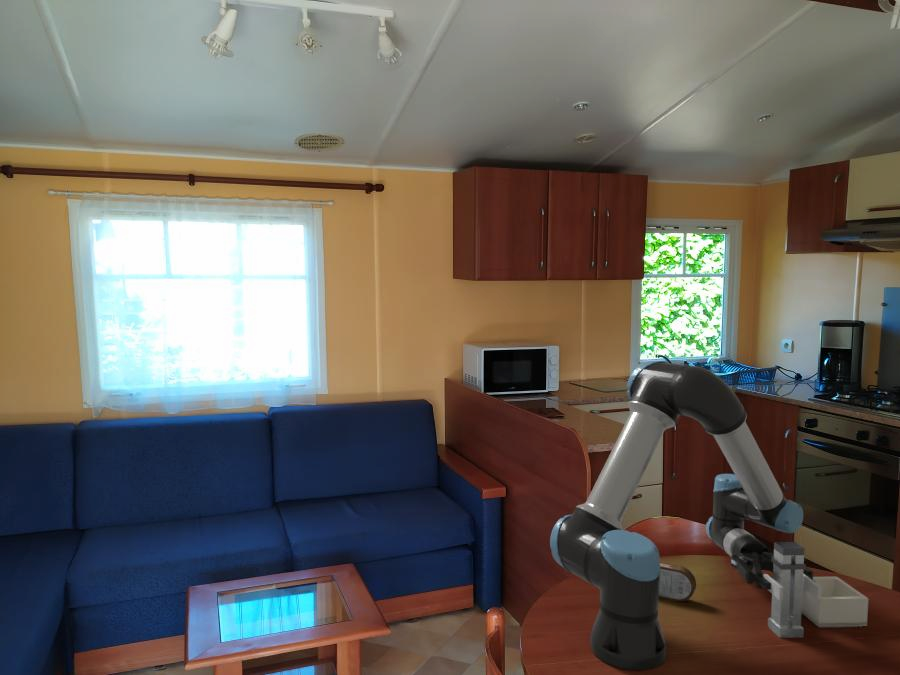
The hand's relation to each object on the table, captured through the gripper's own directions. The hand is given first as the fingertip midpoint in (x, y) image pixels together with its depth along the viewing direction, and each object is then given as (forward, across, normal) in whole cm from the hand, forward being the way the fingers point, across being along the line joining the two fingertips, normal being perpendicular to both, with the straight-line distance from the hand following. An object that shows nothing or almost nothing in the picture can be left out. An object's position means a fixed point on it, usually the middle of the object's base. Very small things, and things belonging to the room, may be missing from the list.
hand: (800, 593), depth 135 cm
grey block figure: (-5, 0, -11) cm, 12 cm away
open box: (-12, -14, -11) cm, 21 cm away
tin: (-22, +21, -11) cm, 32 cm away
